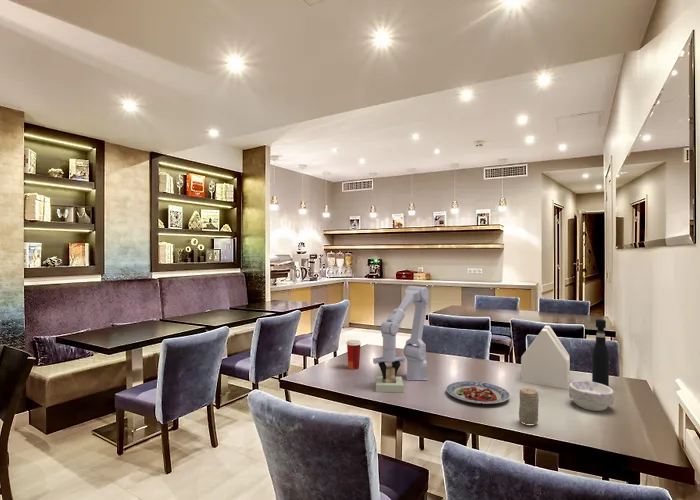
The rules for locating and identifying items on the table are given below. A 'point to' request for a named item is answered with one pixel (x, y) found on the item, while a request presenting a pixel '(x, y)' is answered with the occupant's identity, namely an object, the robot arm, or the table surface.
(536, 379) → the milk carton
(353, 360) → the paper cup
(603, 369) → the wine bottle
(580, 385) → the white round bowl
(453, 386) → the ceramic plate
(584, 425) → the table surface
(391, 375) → the maple peg
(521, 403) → the jute twine spool
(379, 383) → the socket block
